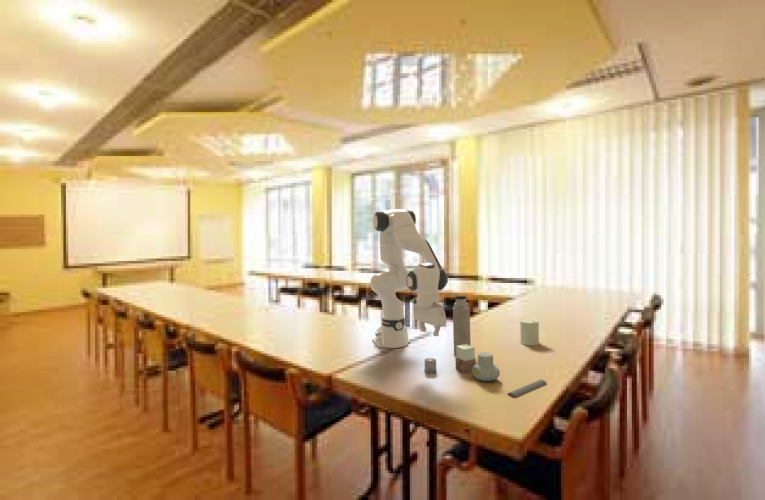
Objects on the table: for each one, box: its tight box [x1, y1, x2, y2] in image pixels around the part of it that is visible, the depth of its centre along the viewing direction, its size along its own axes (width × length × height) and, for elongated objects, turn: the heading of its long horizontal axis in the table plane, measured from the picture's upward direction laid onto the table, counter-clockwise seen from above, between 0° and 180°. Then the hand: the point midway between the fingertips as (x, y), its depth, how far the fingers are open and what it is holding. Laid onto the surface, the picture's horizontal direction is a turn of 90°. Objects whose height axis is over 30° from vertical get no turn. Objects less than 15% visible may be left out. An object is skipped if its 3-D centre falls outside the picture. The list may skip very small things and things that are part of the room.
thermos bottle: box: [452, 295, 472, 356], centre depth 197 cm, size 8×8×28 cm
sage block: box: [456, 344, 476, 361], centre depth 176 cm, size 6×6×5 cm
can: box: [519, 318, 540, 346], centre depth 212 cm, size 9×9×12 cm
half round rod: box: [507, 379, 548, 398], centre depth 153 cm, size 4×20×2 cm, turn 126°
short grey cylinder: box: [423, 357, 437, 374], centre depth 175 cm, size 5×5×5 cm
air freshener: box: [471, 351, 501, 382], centre depth 164 cm, size 11×8×10 cm
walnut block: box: [455, 356, 477, 374], centre depth 176 cm, size 6×6×5 cm
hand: (429, 333), depth 174 cm, fingers open, 8 cm apart
